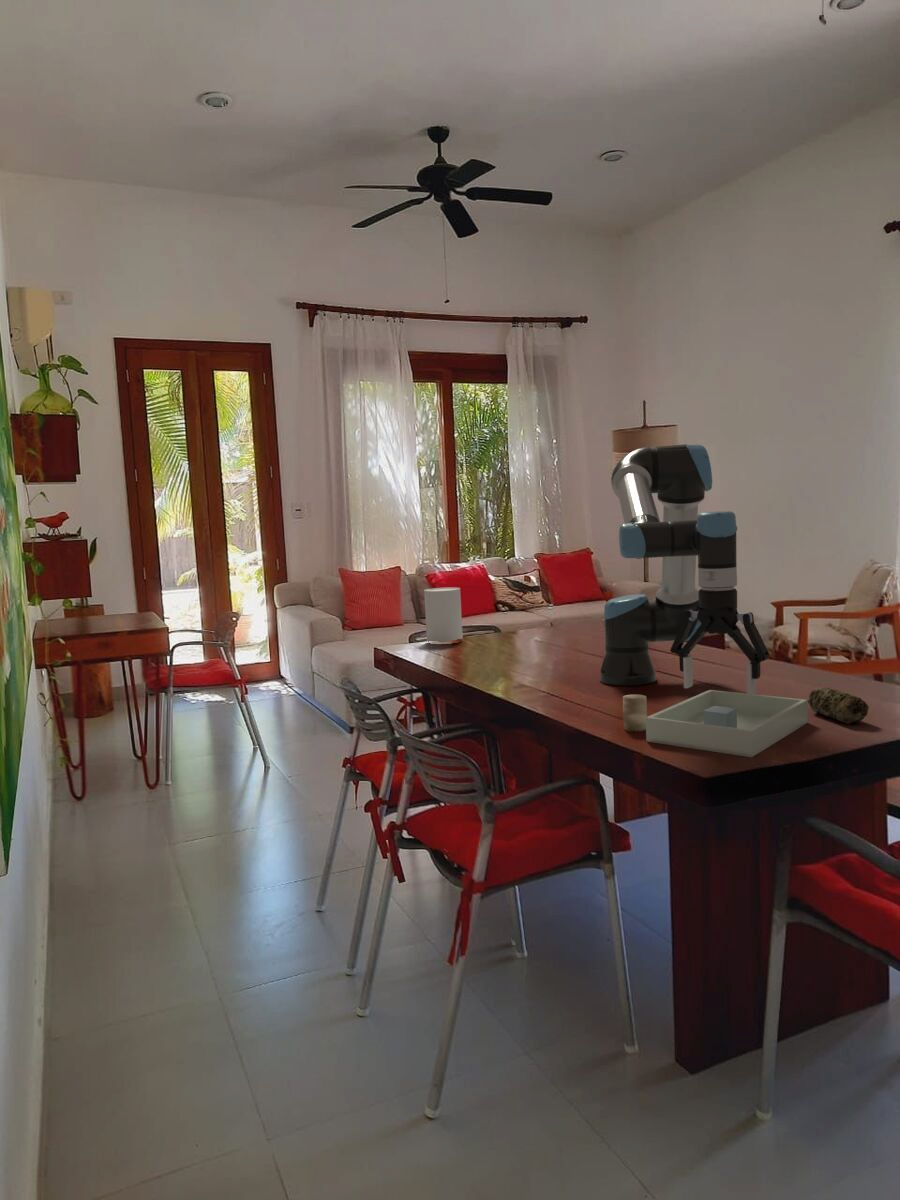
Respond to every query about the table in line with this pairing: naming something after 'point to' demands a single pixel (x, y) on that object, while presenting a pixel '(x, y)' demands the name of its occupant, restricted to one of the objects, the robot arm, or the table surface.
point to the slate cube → (720, 716)
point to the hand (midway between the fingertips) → (719, 690)
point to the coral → (838, 705)
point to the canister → (443, 614)
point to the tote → (755, 727)
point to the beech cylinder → (634, 712)
